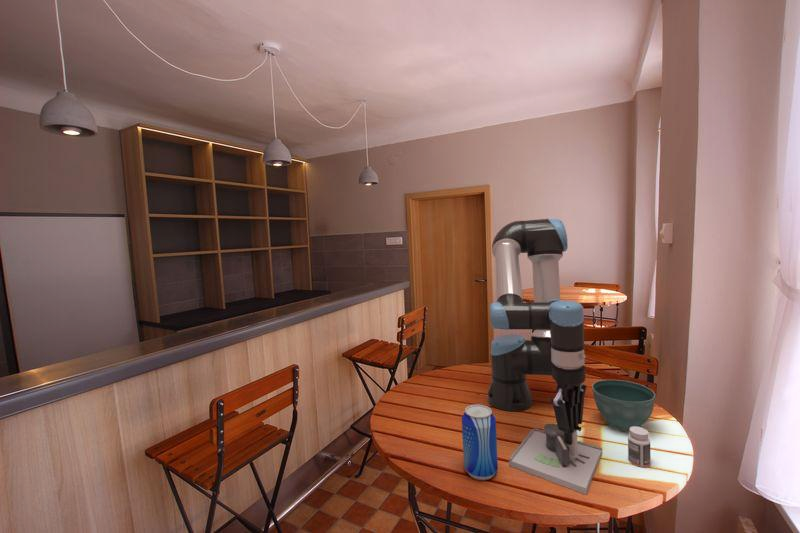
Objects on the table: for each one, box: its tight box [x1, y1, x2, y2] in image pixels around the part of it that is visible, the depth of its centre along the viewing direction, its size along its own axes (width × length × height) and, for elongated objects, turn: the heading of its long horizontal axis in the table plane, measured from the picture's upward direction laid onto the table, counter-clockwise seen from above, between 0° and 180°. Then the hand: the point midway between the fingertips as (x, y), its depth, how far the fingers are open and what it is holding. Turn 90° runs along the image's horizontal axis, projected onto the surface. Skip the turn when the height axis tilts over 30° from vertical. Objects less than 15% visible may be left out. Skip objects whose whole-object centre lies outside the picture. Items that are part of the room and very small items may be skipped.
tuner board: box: [508, 427, 603, 495], centre depth 93 cm, size 18×18×2 cm
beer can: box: [461, 403, 499, 481], centre depth 90 cm, size 8×8×16 cm
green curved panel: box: [534, 453, 590, 468], centre depth 91 cm, size 11×9×1 cm
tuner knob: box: [543, 423, 570, 465], centre depth 93 cm, size 11×6×5 cm, turn 173°
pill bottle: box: [627, 426, 652, 468], centre depth 90 cm, size 5×5×8 cm
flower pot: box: [591, 379, 656, 433], centre depth 108 cm, size 16×16×11 cm
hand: (571, 453), depth 90 cm, fingers closed
